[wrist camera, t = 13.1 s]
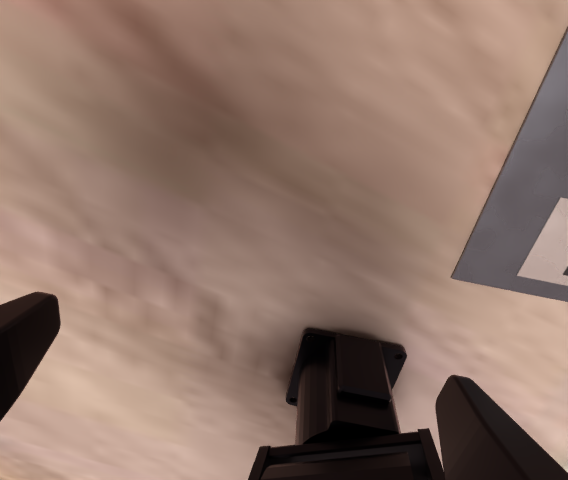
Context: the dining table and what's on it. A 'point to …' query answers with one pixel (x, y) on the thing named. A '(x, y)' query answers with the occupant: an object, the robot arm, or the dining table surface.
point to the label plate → (528, 202)
